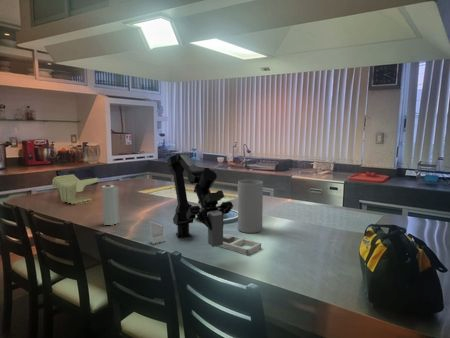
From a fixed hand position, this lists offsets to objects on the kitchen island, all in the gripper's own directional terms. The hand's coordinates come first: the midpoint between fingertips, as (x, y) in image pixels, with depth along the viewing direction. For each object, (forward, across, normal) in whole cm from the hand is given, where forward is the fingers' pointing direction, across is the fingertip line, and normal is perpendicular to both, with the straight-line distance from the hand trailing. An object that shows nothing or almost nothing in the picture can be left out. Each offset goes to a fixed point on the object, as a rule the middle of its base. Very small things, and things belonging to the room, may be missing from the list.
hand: (217, 228), depth 121 cm
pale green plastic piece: (-87, -40, +107) cm, 144 cm away
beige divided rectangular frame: (+2, +15, +17) cm, 23 cm away
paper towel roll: (-40, -28, +60) cm, 77 cm away
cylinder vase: (-9, +33, +28) cm, 44 cm away
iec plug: (+4, 0, +6) cm, 7 cm away
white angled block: (-14, -14, +33) cm, 38 cm away
